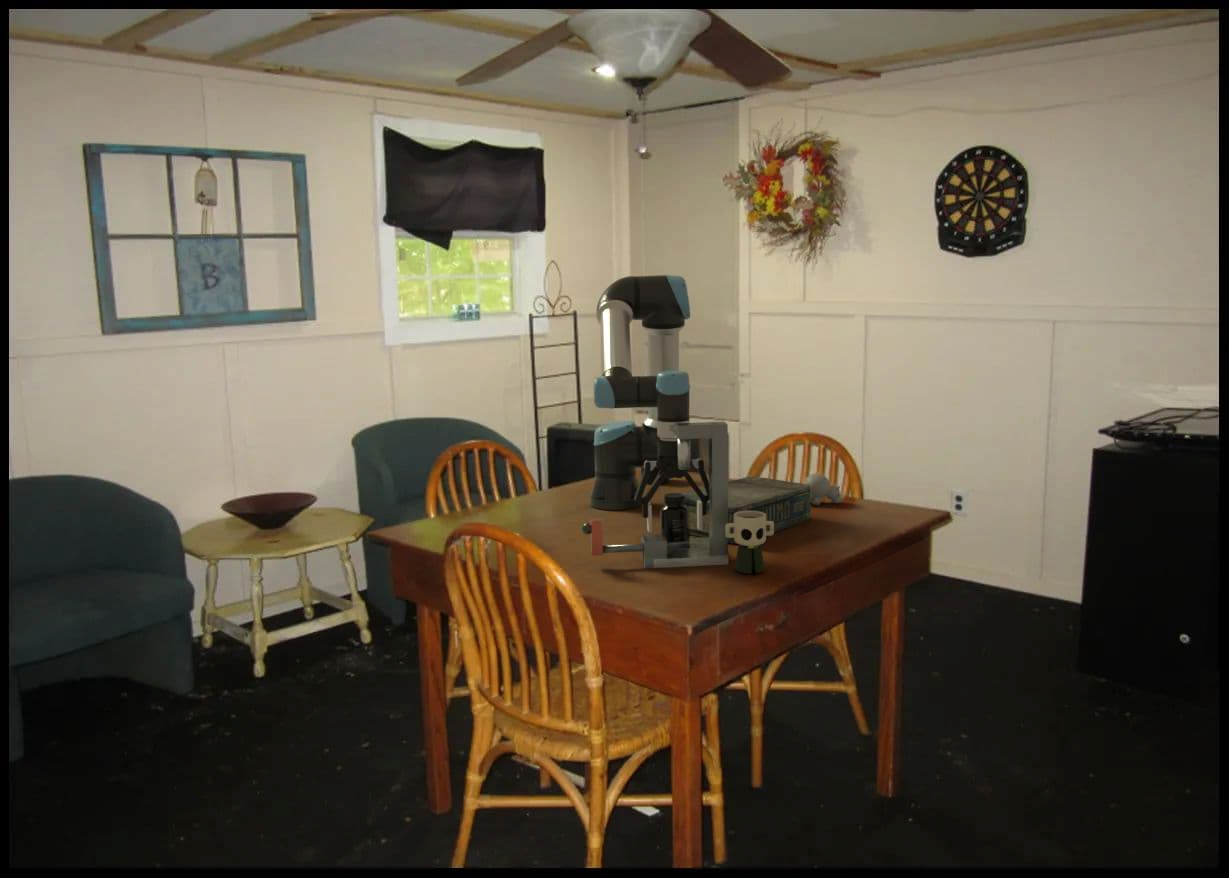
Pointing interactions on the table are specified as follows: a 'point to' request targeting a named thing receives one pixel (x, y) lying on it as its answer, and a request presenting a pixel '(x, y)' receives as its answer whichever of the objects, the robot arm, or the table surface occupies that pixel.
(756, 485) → the metal box
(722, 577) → the table surface
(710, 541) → the press
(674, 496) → the supplement bottle
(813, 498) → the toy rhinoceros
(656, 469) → the pen holder
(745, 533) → the character mug
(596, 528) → the lever
